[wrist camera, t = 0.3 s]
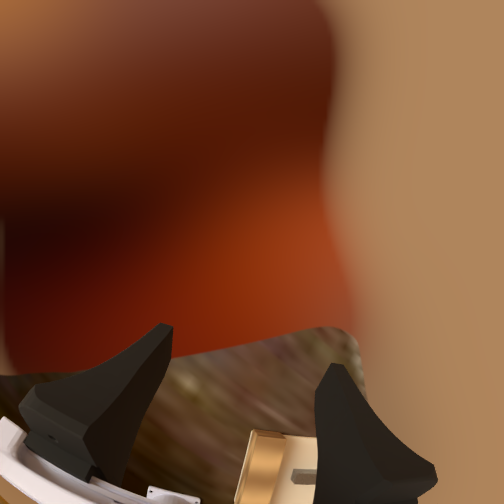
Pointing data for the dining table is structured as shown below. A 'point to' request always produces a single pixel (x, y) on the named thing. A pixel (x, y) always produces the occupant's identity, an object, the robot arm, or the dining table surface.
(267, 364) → the dining table surface
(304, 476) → the fulcrum strip
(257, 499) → the oak bar
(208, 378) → the dining table surface
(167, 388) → the dining table surface
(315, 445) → the serving board
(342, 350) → the dining table surface
